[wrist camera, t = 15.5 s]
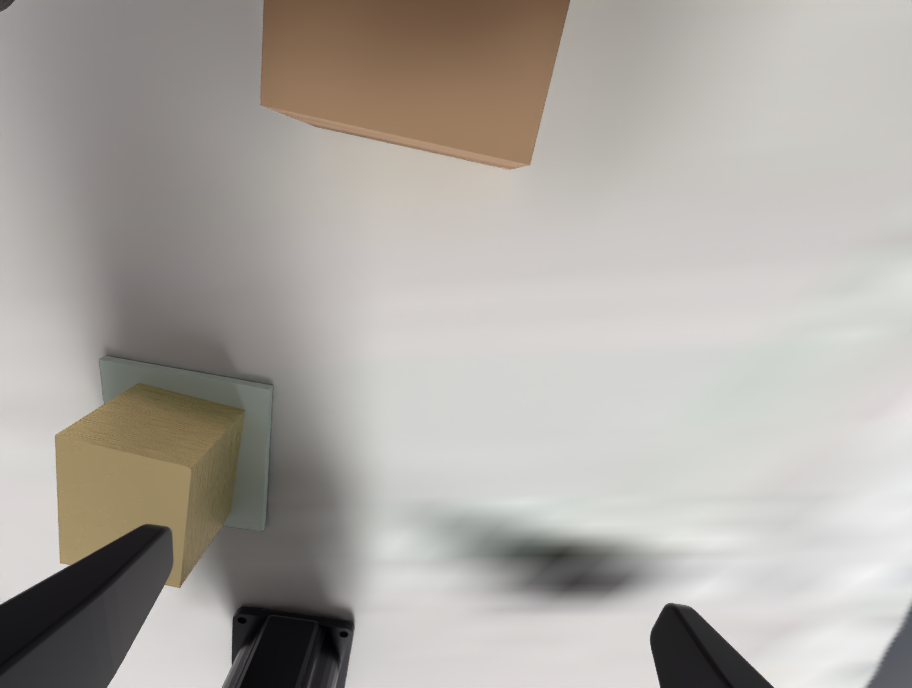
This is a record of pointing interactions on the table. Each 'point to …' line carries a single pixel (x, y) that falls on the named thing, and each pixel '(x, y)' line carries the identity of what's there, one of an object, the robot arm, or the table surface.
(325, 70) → the plane block
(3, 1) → the lever
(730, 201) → the table surface
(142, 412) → the brass block
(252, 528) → the glass plate
